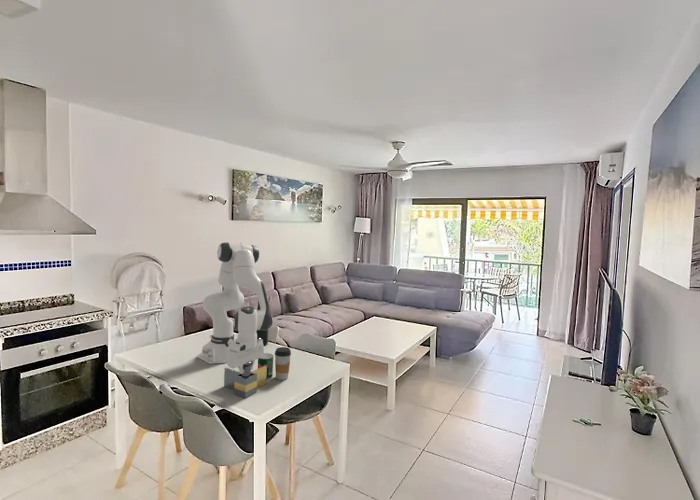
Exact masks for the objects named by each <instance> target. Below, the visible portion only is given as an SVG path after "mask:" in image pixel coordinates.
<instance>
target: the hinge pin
mask: <svg viewBox="0 0 700 500" xmlns="http://www.w3.org/2000/svg"><path fill="white" fill-rule="evenodd" d="M251 364H252V361H251V362H248V363H246V364H244V365H243V367H242V368H243V369H244V373H243V374H242V377H244V378H248V377H250V376H251V372H252V371H251Z"/></svg>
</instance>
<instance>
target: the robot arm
mask: <svg viewBox="0 0 700 500" xmlns="http://www.w3.org/2000/svg"><path fill="white" fill-rule="evenodd" d="M216 254H217V259H218V260H219V262H221V264H220V270H219V274H218V280H217V281H218V284H219V285H220V286H221V287H223V290H222V292H217V293H212V294H209V295H207V296H205V297H204V298H203V301H202V308H203V311H205V313H206V314H208V315H209V316H210V318H211V321H212V330H213V331H212V334H211V335H210V336H209V338H211V339H210V341H209V342H207V343H205V344H204V345H203V346H202V347H201V353H199V354H197V355H196V356H197V358H198V359H199V360H202V361H203V362H205V363H206V364H210V365H212V364H213V365H214V364H227V368H229V369H236V368H238V370H239V371H238V372H239V373H240V374H243V373H244V369H243V368H242V367H243V365H244V364H246V363H248V362H251V361H252V364H251V370H253V368H254V365H255V362H256V360H258V358H261V357H263V355H264V354H265V346H263V340H262V339H261V338H258V339H257V332H256V330H268V331H269V329H270V328H271V327H272V326H273V321H274V318H273V314H272V312H271V308H270V304H269V301H268V300H269V299H268V297H267V296H268V295H267V292H266V288H265V284H264V281H263V280H262V279H261V278H260V277H259V276H258V275H257V273H256V272H257V271H256V263H258V261H259V258H260V250H259V248H258V246H255V245H254V244H247V243H241V242H240V243H238V242H237V243H236V242H222V243H219V245H218V248H217V251H216ZM240 288H242V289H246V290H249V291H251V292H253V293H255V294H256V296H257V301H258V300H259V304H260V310H257V308H255V307H254V306H244V304H245V297H244V296H245V295H244V294H243V293H242V292H241V290H240ZM239 308H240V309H239ZM237 309H239V310H238V311H237V312H235V313H234V315H233V319H231V318H230V317H229V316H228V314H227V313H228V312H229V311H234V310H237ZM234 329H235V330H236V331H238V333H237V338H236V339H235V335H234Z"/></svg>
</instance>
